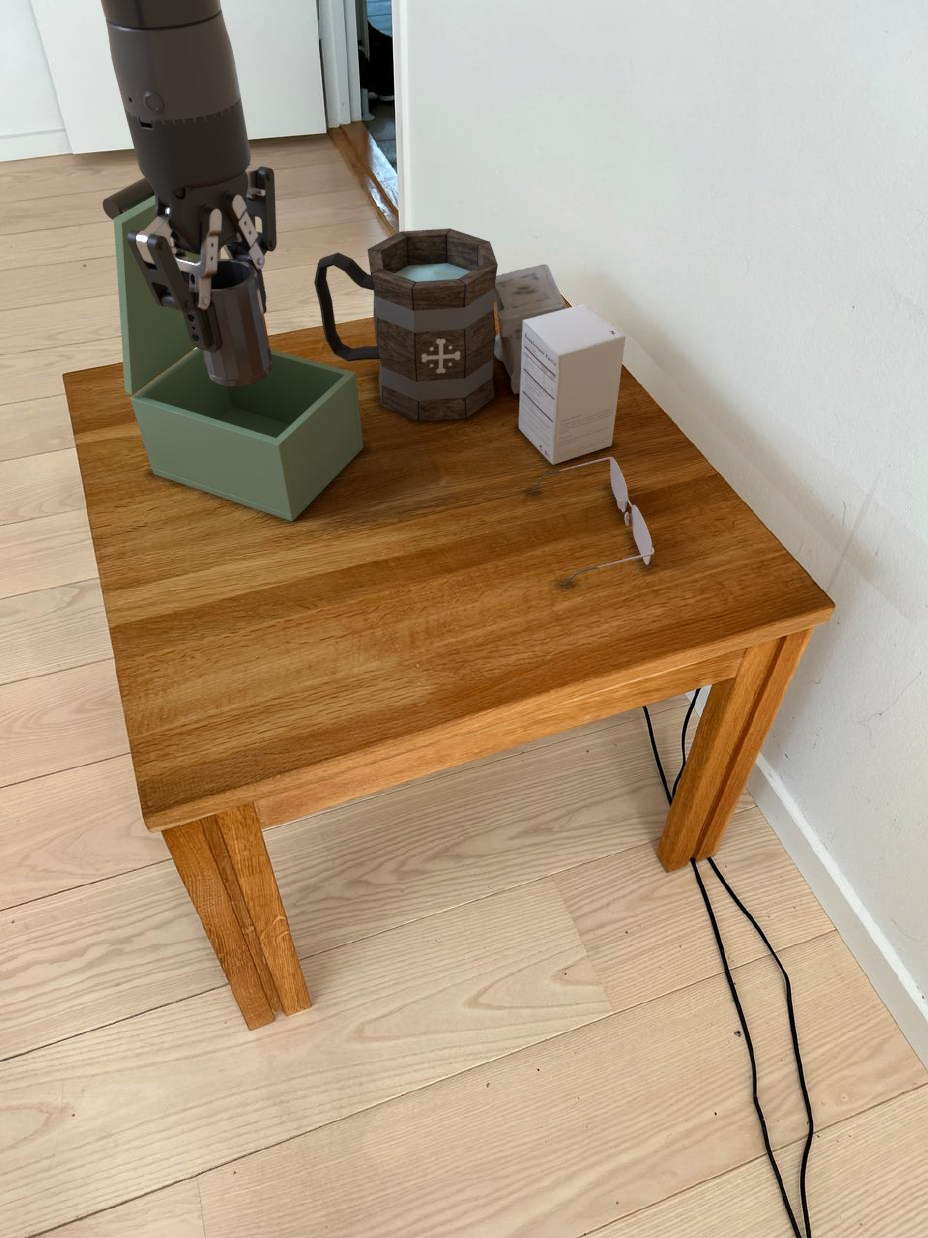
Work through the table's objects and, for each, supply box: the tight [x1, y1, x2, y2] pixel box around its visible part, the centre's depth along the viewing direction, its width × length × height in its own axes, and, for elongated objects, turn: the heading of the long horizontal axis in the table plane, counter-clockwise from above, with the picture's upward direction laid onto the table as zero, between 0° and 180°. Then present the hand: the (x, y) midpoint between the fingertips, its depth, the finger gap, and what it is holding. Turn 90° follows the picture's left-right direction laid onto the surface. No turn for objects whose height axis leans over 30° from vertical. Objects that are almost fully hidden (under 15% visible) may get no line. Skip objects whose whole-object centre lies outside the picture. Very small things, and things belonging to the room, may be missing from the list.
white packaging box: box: [518, 303, 626, 466], centre depth 92 cm, size 7×7×13 cm
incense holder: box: [494, 264, 567, 395], centre depth 101 cm, size 10×8×10 cm
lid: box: [102, 176, 222, 396], centre depth 83 cm, size 18×13×5 cm
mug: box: [313, 227, 499, 423], centre depth 98 cm, size 20×14×15 cm
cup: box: [189, 258, 273, 386], centre depth 72 cm, size 5×5×8 cm
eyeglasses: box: [530, 456, 655, 586], centre depth 85 cm, size 14×8×4 cm, turn 10°
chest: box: [129, 347, 364, 522], centre depth 91 cm, size 17×13×9 cm
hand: (231, 329), depth 72 cm, fingers closed on cup, 5 cm apart
